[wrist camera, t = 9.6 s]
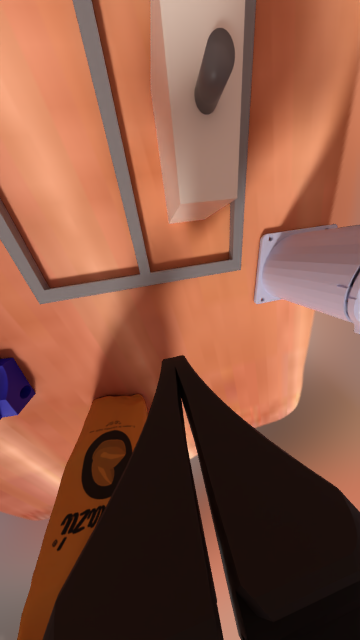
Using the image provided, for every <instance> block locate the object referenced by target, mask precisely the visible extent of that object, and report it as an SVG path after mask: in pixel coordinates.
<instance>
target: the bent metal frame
mask: <svg viewBox="0 0 360 640" xmlns="http://www.w3.org/2000/svg"><path fill="white" fill-rule="evenodd" d="M73 4H74V8H75V12H76V16H77V20H78V24H79V28H80V32H81V36H82V41H83V45H84V49H85V53H86V57H87V61H88V65H89V69H90V73H91V77H92V81H93V85H94V89H95V93H96V97H97V101H98V105H99V109H100V113H101V117H102V121H103V125H104V129H105V133H106V137H107V141H108V145H109V150H110V154H111V158H112V162H113V166H114V170H115V174H116V178H117V182H118V186H119V190H120V194H121V198H122V202H123V206H124V210H125V214H126V218H127V222H128V226H129V230H130V234H131V238H132V242H133V246H134V250H135V255H136V259H137V263H138V267H139V271H140V274H136V275H130V276H124V277H118V278H111V279H105V280H99V281H93V282H87V283H81V284H74V285H68V286H62V287H56V288H49V286H48V285H47V283H46V281H45V279H44V277H43V275H42V274H41V272H40V270H39V268H38V266H37V264H36V263H35V261H34V259H33V257H32V255H31V253H30V252H29V250H28V248H27V246H26V244H25V243H24V241H23V239H22V237H21V235H20V233H19V232H18V230H17V228H16V226H15V224H14V222H13V221H12V219H11V217H10V215H9V213H8V211H7V210H6V208H5V206H4V204H3V202H2V201H1V199H0V239H1V241H2V243H3V244H4V246H5V248H6V249H7V251H8V253H9V254H10V256H11V258H12V259H13V261H14V262H15V264H16V266H17V267H18V269H19V271H20V272H21V274H22V276H23V277H24V279H25V281H26V282H27V284H28V285H29V287H30V289H31V290H32V292H33V294H34V295H35V297H36V299H37V300H38V302H39V304H44V303H50V302H56V301H62V300H68V299H74V298H79V297H85V296H91V295H97V294H103V293H109V292H114V291H120V290H126V289H132V288H138V287H143V286H149V285H155V284H161V283H167V282H173V281H178V280H184V279H190V278H196V277H202V276H207V275H213V274H219V273H225V272H231V271H237V270H241V257H242V239H243V222H244V204H245V187H246V169H247V152H248V134H249V117H250V99H251V82H252V64H253V47H254V29H255V12H256V0H245V18H244V43H243V68H242V92H241V117H240V142H239V166H238V191H237V199H235V200H234V201H232V202H231V203H230V248H229V260H223V261H217V262H211V263H204V264H198V265H192V266H186V267H180V268H173V269H167V270H161V271H155V272H150V268H149V263H148V259H147V254H146V250H145V245H144V240H143V236H142V231H141V226H140V222H139V217H138V212H137V208H136V203H135V199H134V194H133V189H132V185H131V180H130V175H129V171H128V166H127V161H126V157H125V152H124V148H123V143H122V138H121V134H120V129H119V124H118V120H117V115H116V111H115V106H114V101H113V97H112V92H111V87H110V83H109V78H108V73H107V69H106V64H105V60H104V55H103V50H102V46H101V41H100V36H99V32H98V27H97V23H96V18H95V13H94V9H93V4H92V0H73Z"/></svg>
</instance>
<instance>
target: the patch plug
mask: <svg viewBox="0 0 360 640" xmlns="http://www.w3.org/2000/svg"><path fill="white" fill-rule="evenodd" d="M244 18H245V0H151V97H152V104H153V112H154V119H155V126H156V134H157V141H158V148H159V156H160V163H161V170H162V178H163V185H164V192H165V199H166V207H167V214H168V221H169V224H171V223H180V222H188V221H196V220H204V219H206V218H208V217H209V216H211V215H212V214H214V213H215V212H217V211H218V210H220V209H221V208H223V207H224V206H226V205H227V204H229V203H231V202H232V201H234V200H235V199H237V191H238V166H239V142H240V117H241V92H242V68H243V43H244Z"/></svg>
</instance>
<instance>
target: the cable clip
mask: <svg viewBox="0 0 360 640" xmlns="http://www.w3.org/2000/svg"><path fill="white" fill-rule="evenodd" d="M35 394H36V393H35V392H34V390H33V388H32V387H31V385H30V384H29V382H28V381H27V379H26V377H25V376H24V374H23V373H22V371H21V370H20V368H19V366H18V365H17V363H16V362H15V360H14V359H13V358H4V359H0V419H1V418H2V417H8V416H14V415H18V414H19V413H20V412H21V410H22V409H23V408H24V407H25V406H26V404H27V403H28V402H29V401H30V400H31V398H32V397H33V396H34V395H35Z"/></svg>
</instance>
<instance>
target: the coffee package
mask: <svg viewBox="0 0 360 640" xmlns="http://www.w3.org/2000/svg"><path fill="white" fill-rule="evenodd" d="M147 417H148V413H147V408H146V403H145V400H144V398H143V397H142V395H140V394H135V395H133V396H126V395H122V396H118V397H117V396H116V397H113V396H105V397H102V398H98V399H95V400H94V401H93V402H92V405H91V408H90V411H89V413H88V415H87V418H86V420H85V423H84V426H83V429H82V431H81V434H80V436H79V438H78V441H77V443H76V445H75V447H74V449H73V452H72V454H71V456H70V458H69V460H68V462H67V464H66V467H65V470H64V473H63V476H62V479H61V483H60V487H59V490H58V494H57V497H56V501H55V504H54V507H53V510H52V513H51V516H50V520H49V523H48V526H47V529H46V532H45V535H44V539H43V543H42V547H41V551H40V554H39V557H38V560H37V564H36V567H35V570H34V573H33V577H32V582H31V587H30V591H29V594H28V597H27V600H26V603H25V606H24V609H23V613H22V617H21V622H20V628H19V633H18V638H17V640H42V639H43V636H44V633H45V630H46V627H47V624H48V622H49V619H50V616H51V613H52V610H53V607H54V604H55V601H56V599H57V596H58V594H59V592H60V590H61V588H62V586H63V584H64V583H65V581H66V579H67V577H68V575H69V574H70V572H71V570H72V568H73V566H74V564H75V563H76V561H77V559H78V557H79V555H80V554H81V552H82V550H83V548H84V546H85V544H86V543H87V541H88V539H89V537H90V535H91V533H92V532H93V530H94V528H95V526H96V524H97V523H98V521H99V519H100V517H101V515H102V513H103V511H104V509H105V507H106V505H107V504H108V502H109V500H110V498H111V496H112V494H113V492H114V490H115V488H116V486H117V484H118V482H119V480H120V478H121V476H122V474H123V472H124V470H125V468H126V465H127V463H128V461H129V459H130V457H131V455H132V453H133V450H134V448H135V446H136V443H137V441H138V439H139V437H140V434H141V432H142V429H143V427H144V424H145V422H146V419H147Z"/></svg>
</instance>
